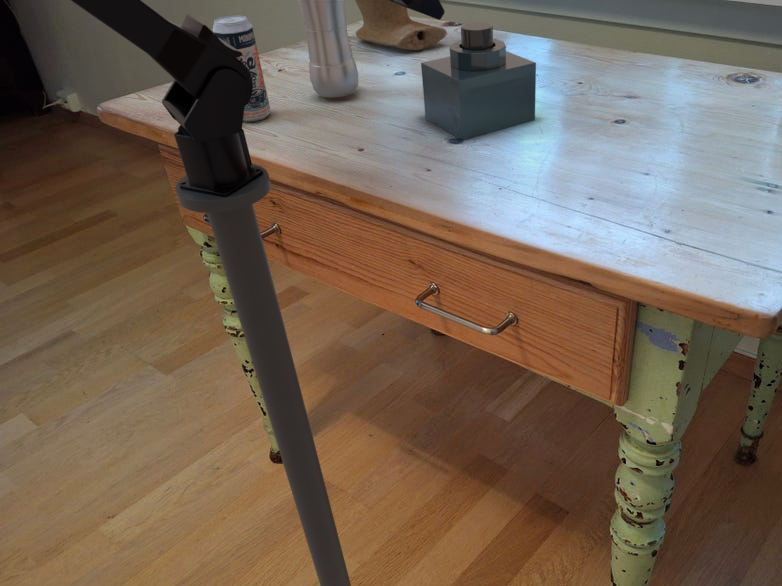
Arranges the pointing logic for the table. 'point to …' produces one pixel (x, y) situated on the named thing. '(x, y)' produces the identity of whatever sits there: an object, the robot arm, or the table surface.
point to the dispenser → (479, 90)
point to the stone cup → (395, 26)
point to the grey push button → (477, 36)
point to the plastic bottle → (329, 48)
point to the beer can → (246, 61)
